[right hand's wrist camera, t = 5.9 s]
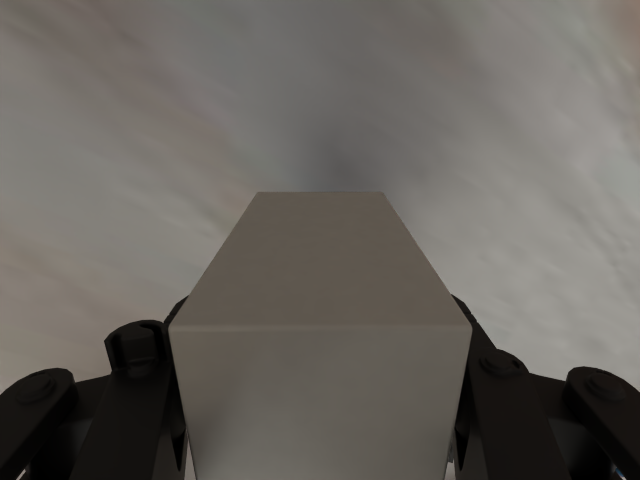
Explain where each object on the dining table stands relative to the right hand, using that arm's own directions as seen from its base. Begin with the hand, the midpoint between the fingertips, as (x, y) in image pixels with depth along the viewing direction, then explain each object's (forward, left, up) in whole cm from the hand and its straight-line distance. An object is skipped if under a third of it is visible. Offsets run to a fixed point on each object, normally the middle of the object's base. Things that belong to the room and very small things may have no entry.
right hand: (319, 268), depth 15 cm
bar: (+9, +2, -1) cm, 9 cm away
